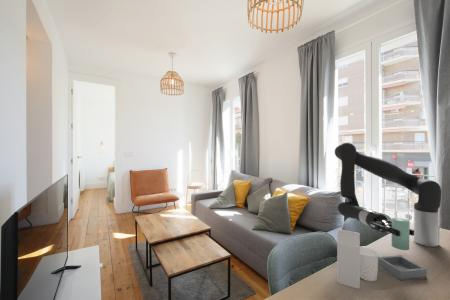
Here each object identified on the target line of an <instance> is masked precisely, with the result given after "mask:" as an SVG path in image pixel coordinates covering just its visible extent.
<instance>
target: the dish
mask: <svg viewBox="0 0 450 300" xmlns="http://www.w3.org/2000/svg"><path fill="white" fill-rule="evenodd" d="M379 267H380V268H381V269H382V270H384V271H385V272H387V273H389V275H392V277H395V279H398V280H399V281H401V282H403V281H404V282H405V281H411V280H412V281H414V280H425V279H426V280H427V276H428V275H427V272H428V270H427V268H425V267H423V266H421V265H419V264H417V263H416V262H414V261H412V260H410V259H408V258H406V257H404V256H403V255H397V254H396V255H387V256H379V258H378V268H379Z"/></svg>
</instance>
